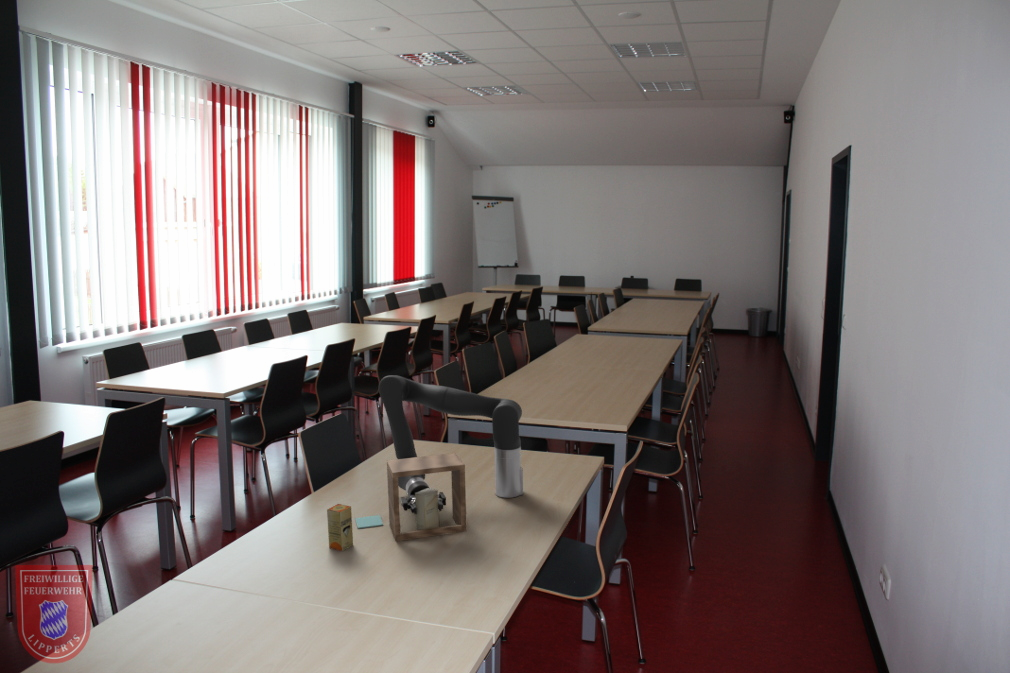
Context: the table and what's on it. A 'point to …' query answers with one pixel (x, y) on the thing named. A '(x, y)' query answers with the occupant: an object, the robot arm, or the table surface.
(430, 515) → the skincare box
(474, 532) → the table surface
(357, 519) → the mat
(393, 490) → the wooden square frame
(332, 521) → the shoe polish box
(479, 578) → the table surface
